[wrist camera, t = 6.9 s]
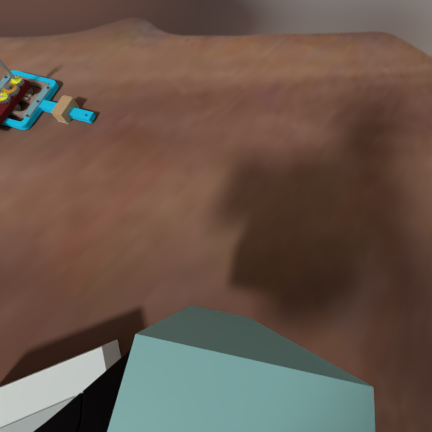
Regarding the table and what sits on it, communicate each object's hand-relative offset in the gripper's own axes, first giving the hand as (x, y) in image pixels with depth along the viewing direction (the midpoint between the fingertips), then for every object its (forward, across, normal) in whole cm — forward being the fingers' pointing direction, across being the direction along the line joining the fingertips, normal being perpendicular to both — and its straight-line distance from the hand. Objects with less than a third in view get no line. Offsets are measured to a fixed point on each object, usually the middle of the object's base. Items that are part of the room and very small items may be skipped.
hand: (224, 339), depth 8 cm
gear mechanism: (+23, -29, +4) cm, 37 cm away
